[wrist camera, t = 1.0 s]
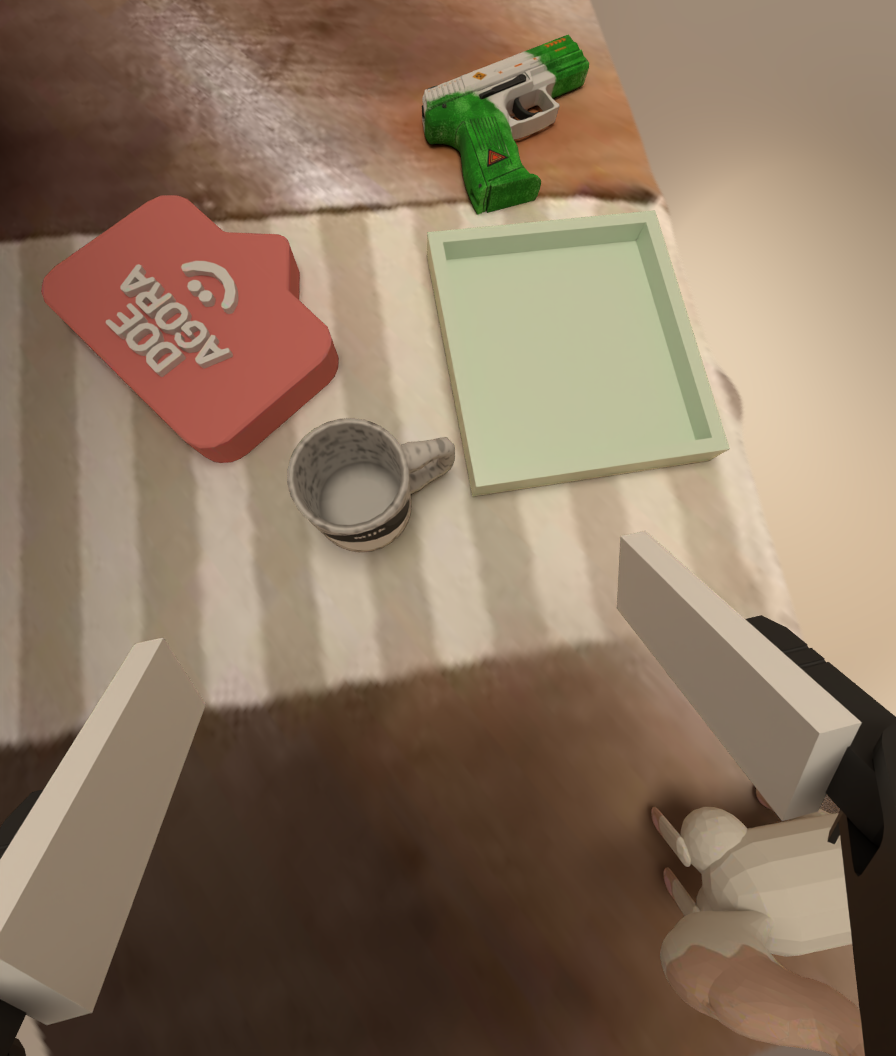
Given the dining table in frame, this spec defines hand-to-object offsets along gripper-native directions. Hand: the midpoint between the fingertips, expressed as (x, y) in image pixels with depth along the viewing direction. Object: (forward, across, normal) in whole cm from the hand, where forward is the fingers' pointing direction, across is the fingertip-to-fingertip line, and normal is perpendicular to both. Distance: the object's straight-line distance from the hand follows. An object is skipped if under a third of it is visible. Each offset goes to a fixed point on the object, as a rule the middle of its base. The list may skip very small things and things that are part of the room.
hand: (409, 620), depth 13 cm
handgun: (+39, +17, +17) cm, 45 cm away
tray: (+24, +15, +2) cm, 29 cm away
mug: (+19, -1, -5) cm, 19 cm away
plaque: (+29, -10, +7) cm, 32 cm away
